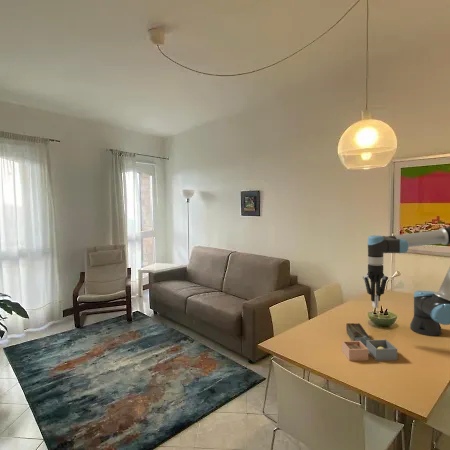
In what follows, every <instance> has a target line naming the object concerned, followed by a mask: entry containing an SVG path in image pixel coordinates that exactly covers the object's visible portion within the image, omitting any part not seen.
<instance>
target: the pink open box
mask: <svg viewBox="0 0 450 450" xmlns="http://www.w3.org/2000/svg"><path fill="white" fill-rule="evenodd" d="M354 344H356V345H357V346H359V347H361V348H362V349H350V348H349V347H348V345H354ZM341 352H342V354H343V355H344V356H345V358H346V359H347V360H348V361H349V362H352V361H354V362H355V361H356V362H358V361H361V362H363V361H369V353H368V348H367V347H366V346H365V345H364V344H363V343H362V342H361V341H351V340H342V341H341Z"/></svg>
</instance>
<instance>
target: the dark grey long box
mask: <svg viewBox="0 0 450 450" xmlns="http://www.w3.org/2000/svg"><path fill="white" fill-rule="evenodd" d="M345 325H346V327H345V328H346V334H347V336H348V337H349V339H350V341H361V342H362V343H363V344H364V345H365V346H366V340H371V338H370V336H369V335H368V333H367V332H366V330H365V329H364V328H363V326H362V325H361V323H355V322H354V323H350V322H349V323H346V324H345Z"/></svg>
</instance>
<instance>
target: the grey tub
mask: <svg viewBox="0 0 450 450" xmlns="http://www.w3.org/2000/svg"><path fill="white" fill-rule="evenodd" d="M366 347H367V348H368V355H370V356H371V357H372V358H373V359H374V360H375V362H377V361H378V362H379V361H382V362H384V361H398V348H397V347H396V346H394V345H393V344H392V343H391V342H390V341H389V340H387V339H370V340H366ZM378 347H383V348H384V349H377V348H378Z"/></svg>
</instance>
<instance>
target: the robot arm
mask: <svg viewBox="0 0 450 450" xmlns="http://www.w3.org/2000/svg"><path fill="white" fill-rule="evenodd" d="M438 244H441V245H443V246H448V245H450V226H448V227H440V228H439V229H437V230H431V231H430V230H428V231H422V232H421V231H420V232H413V233H404V234H396V235H389V236H388V235H375V234H374V235H369V236H368V238H367V263H368V264H367V274H366V275H365V276H362V279H363V280H364V284H365V287H366V292H367V294H368V295H370V301H371V302H372V307H373V308H374V309H375V308H376V309H378V308H379V302H380V301H381V299H380V298H381V296H382V295H384V294H385V288H386V286H387V281H388V280H389V277H388V276H386V275H385V274H384V254H405V253H407V252H408V251H409V248H411V247H412V248H413V247H419V246H420V247H421V246H429V245H430V246H431V245H438ZM441 325H442V326H443V325H444V326H448V325H450V266H449V268H448V270H447V272H446V273H445V276H444V278H443V280H442V283H441V285H440V287H439V289H438V291H433V290H416V291H414V294H413V317H412V320H411V322H410V326H409V328H410V330H411V331H413V332H414V333H417V334H420V335H424V336H431V337H434V336H435V337H436V336H441V335H442V326H441Z"/></svg>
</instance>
